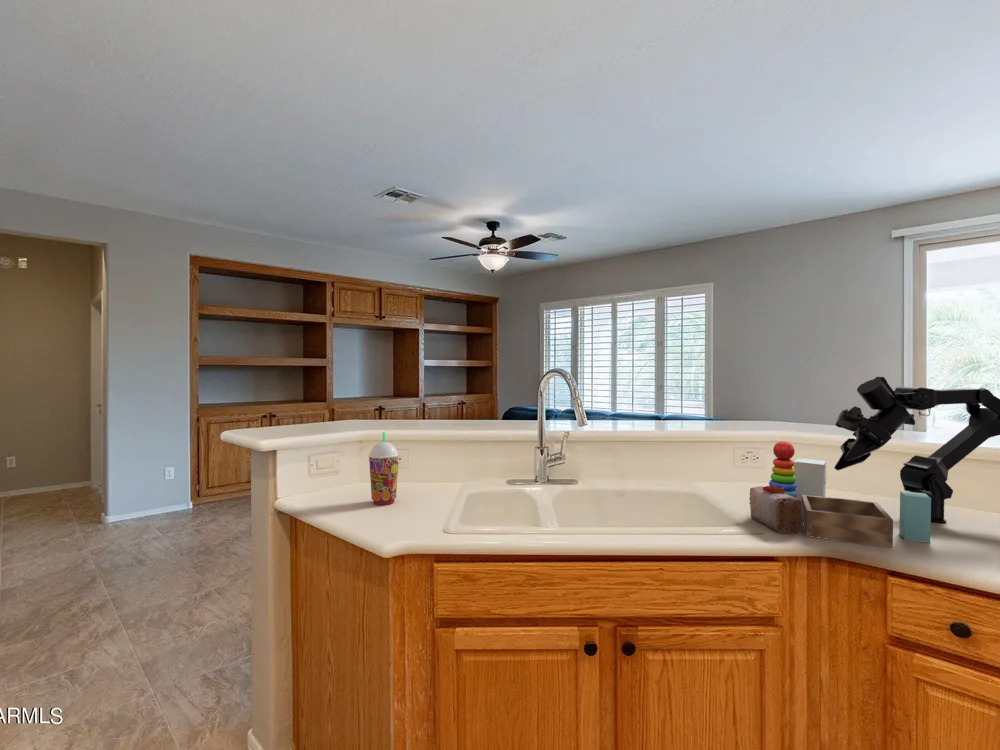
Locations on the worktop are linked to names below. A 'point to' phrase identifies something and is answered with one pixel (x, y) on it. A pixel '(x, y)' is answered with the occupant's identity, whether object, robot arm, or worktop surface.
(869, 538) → the bore box
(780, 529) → the weathered brown brick
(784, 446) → the stacking toy
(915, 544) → the worktop surface
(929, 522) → the peg
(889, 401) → the robot arm
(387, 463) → the smoothie
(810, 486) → the supplement box
